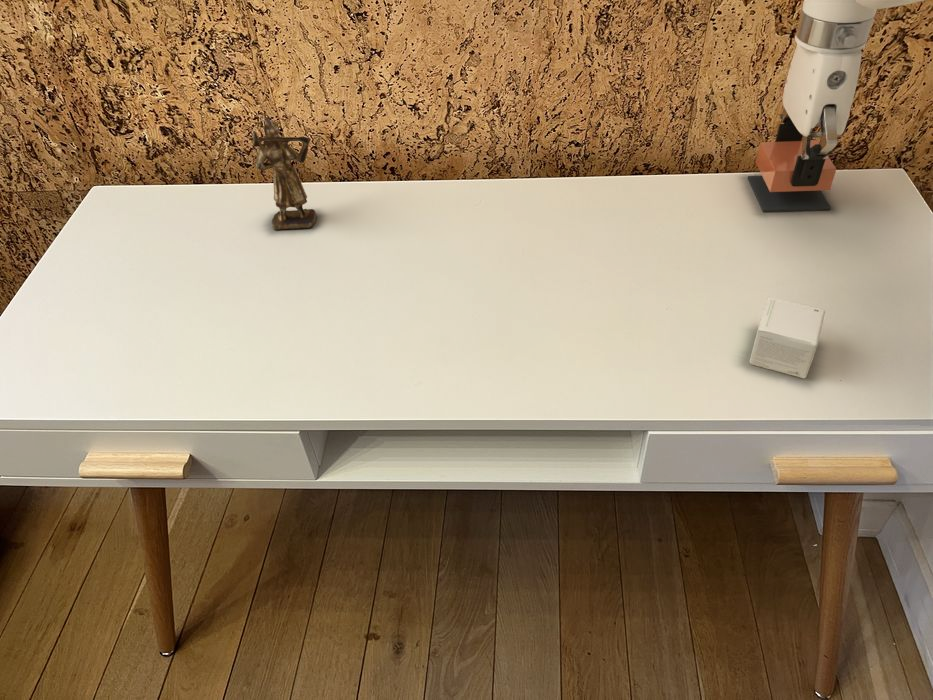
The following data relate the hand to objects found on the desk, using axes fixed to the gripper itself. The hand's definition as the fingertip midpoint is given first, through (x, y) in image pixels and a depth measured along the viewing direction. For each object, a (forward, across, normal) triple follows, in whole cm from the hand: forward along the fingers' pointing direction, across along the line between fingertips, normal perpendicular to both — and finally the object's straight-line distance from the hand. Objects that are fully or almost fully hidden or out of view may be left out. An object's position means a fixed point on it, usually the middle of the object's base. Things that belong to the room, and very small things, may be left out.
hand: (794, 167), depth 95 cm
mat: (+4, 0, 0) cm, 4 cm away
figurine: (+4, -3, +65) cm, 65 cm away
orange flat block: (+1, 0, 0) cm, 1 cm away
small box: (+4, -31, +9) cm, 32 cm away
